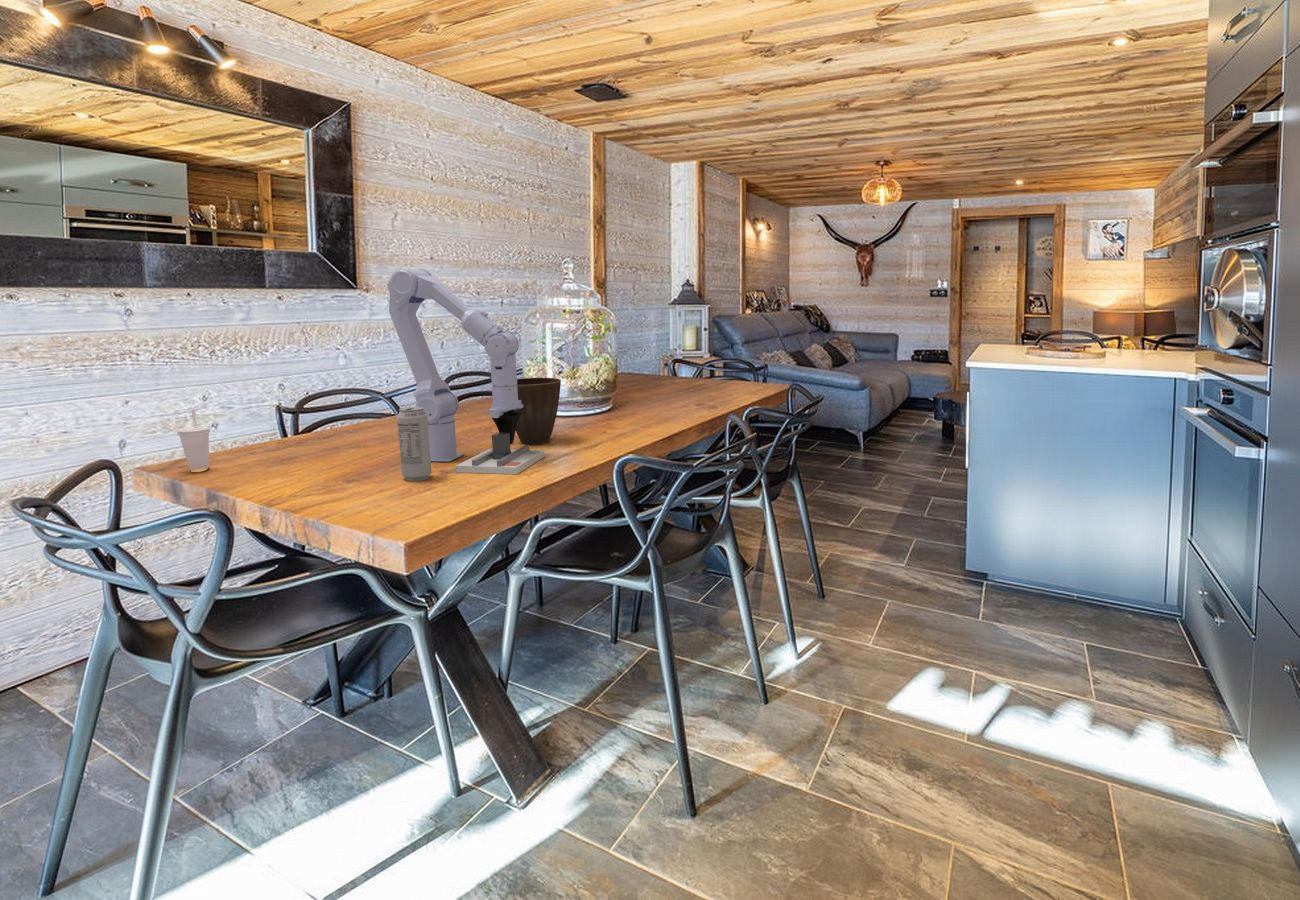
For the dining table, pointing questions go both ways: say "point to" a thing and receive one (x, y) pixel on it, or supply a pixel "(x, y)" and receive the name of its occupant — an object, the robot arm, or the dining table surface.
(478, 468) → the slider rail board
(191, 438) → the smoothie
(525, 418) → the plant pot
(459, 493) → the dining table surface
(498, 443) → the lever
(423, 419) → the energy drink can
